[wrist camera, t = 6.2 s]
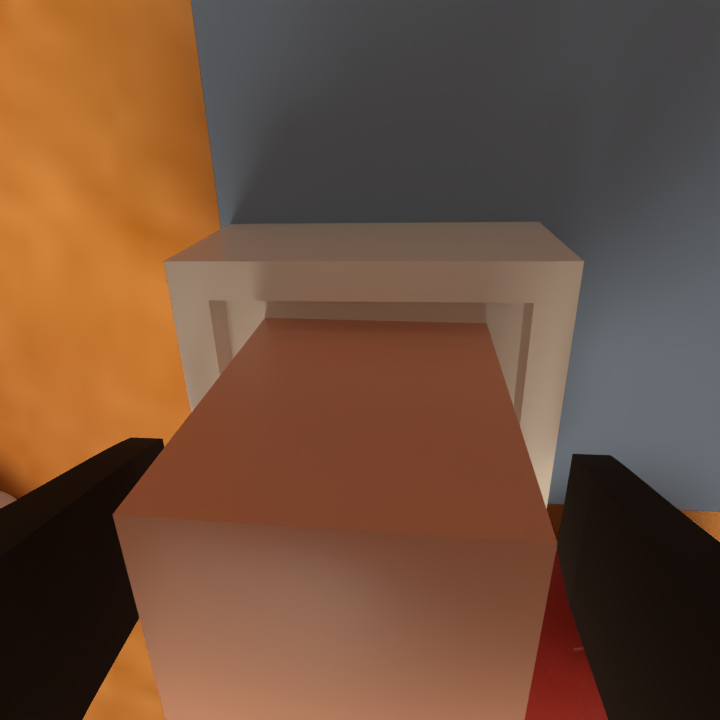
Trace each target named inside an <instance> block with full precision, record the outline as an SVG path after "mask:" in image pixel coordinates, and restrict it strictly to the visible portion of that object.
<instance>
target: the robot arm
mask: <svg viewBox="0 0 720 720" xmlns="http://www.w3.org/2000/svg"><path fill="white" fill-rule="evenodd" d="M163 449H164V444H163V439H154V438H129V439H127V440H125V441H122V442H120V443H118V444H116V445H114V446H112V447H110V448H108V449H106V450H105V451H103V452H101V453H99V454H97V455H95V456H93V457H92V458H90V459H88V460H86V461H85V462H83V463H81V464H79V465H77V466H76V467H74V468H72V469H70V470H69V471H67V472H65V473H63V474H62V475H60V476H58V477H56V478H54V479H53V480H51V481H49V482H47V483H46V484H44V485H42V486H40V487H39V488H37V489H35V490H33V491H31V492H30V493H28V494H26V495H24V496H23V497H21V498H19V499H17V500H15V501H14V502H12V503H10V504H8V505H6V506H4V507H2V508H0V720H82V719H83V718H84V716H85V714H86V712H87V710H88V708H89V706H90V704H91V702H92V700H93V699H94V697H95V695H96V693H97V692H98V690H99V688H100V686H101V684H102V683H103V681H104V679H105V677H106V676H107V674H108V672H109V670H110V668H111V667H112V665H113V663H114V661H115V660H116V658H117V656H118V654H119V653H120V651H121V649H122V647H123V645H124V644H125V642H126V640H127V638H128V637H129V635H130V633H131V631H132V630H133V628H134V626H135V624H136V622H137V621H138V619H139V615H138V611H137V607H136V603H135V599H134V595H133V592H132V588H131V584H130V580H129V576H128V572H127V569H126V565H125V561H124V557H123V553H122V549H121V545H120V542H119V538H118V534H117V530H116V526H115V522H114V519H113V513H114V512H115V511H116V509H117V508H118V507H119V506H120V504H121V503H122V502H123V500H124V499H125V498H126V497H127V495H128V494H129V493H130V491H131V490H132V489H133V488H134V486H135V485H136V484H137V482H138V481H139V480H140V478H141V477H142V476H143V475H144V473H145V472H146V471H147V469H148V468H149V467H150V466H151V464H152V463H153V462H154V460H155V459H156V458H157V456H158V455H159V454H160V453H161V451H162V450H163ZM557 551H558V556H559V561H560V566H561V571H562V576H563V580H564V585H565V589H566V594H567V598H568V603H569V606H570V609H571V613H572V616H573V619H574V622H575V625H576V628H577V630H578V633H579V636H580V639H581V642H582V645H583V648H584V651H585V654H586V657H587V660H588V663H589V666H590V669H591V671H592V674H593V677H594V680H595V683H596V686H597V689H598V692H599V694H600V697H601V700H602V703H603V706H604V709H605V712H606V715H607V718H608V720H720V542H719V541H717V540H716V539H715V538H713V537H712V536H711V535H710V534H708V533H707V532H706V531H704V530H703V529H702V528H701V527H699V526H698V525H697V524H696V523H694V522H693V521H692V520H691V519H689V518H688V517H687V516H686V515H684V514H683V513H682V512H681V511H679V510H678V509H677V508H676V507H675V506H673V505H672V504H671V503H670V502H668V501H667V500H666V499H665V498H664V497H662V496H661V495H660V494H659V493H657V492H656V491H655V490H654V489H653V488H651V487H650V486H649V485H648V484H647V483H645V482H644V481H643V480H642V479H640V478H639V477H638V476H637V475H636V474H634V473H633V472H632V471H631V470H629V469H628V468H627V467H626V466H624V465H623V464H622V463H621V462H619V461H618V460H617V459H615V458H614V457H613V456H611V455H593V454H572V460H571V466H570V472H569V478H568V484H567V490H566V496H565V502H564V508H563V514H562V520H561V526H560V532H559V538H558V544H557Z"/></svg>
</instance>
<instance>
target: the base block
mask: <svg viewBox="0 0 720 720" xmlns="http://www.w3.org/2000/svg"><path fill="white" fill-rule="evenodd" d="M164 266H165V271H166V277H167V282H168V288H169V293H170V299H171V304H172V310H173V315H174V321H175V327H176V332H177V338H178V343H179V349H180V354H181V360H182V365H183V371H184V376H185V382H186V387H187V393H188V398H189V404H190V409H191V413H192V411H193V410H194V409H195V407H196V406H197V405H198V404H199V402H200V401H201V400H202V398H203V397H204V396H205V394H206V393H207V392H208V391H209V389H210V388H211V387H212V385H213V384H214V383H215V382H216V380H217V379H218V378H219V376H220V375H221V374H222V372H223V371H224V370H225V369H226V367H227V366H228V365H229V363H230V362H231V361H232V360H233V358H234V357H235V356H236V354H237V353H238V352H239V351H240V349H241V348H242V347H243V345H244V344H245V343H246V341H247V340H248V339H249V338H250V336H251V335H252V334H253V332H254V331H255V330H256V329H257V327H258V326H259V325H260V323H261V322H262V321H263V320H264V318H292V319H332V320H372V321H412V322H452V323H487V326H488V329H489V332H490V335H491V339H492V342H493V345H494V348H495V351H496V354H497V357H498V360H499V363H500V366H501V370H502V373H503V376H504V379H505V382H506V385H507V388H508V391H509V394H510V397H511V401H512V404H513V407H514V410H515V413H516V416H517V419H518V422H519V425H520V428H521V432H522V435H523V438H524V441H525V444H526V447H527V450H528V453H529V456H530V459H531V463H532V466H533V469H534V472H535V475H536V478H537V481H538V484H539V487H540V490H541V494H542V497H543V500H544V503H545V506H546V509H547V504H548V497H549V490H550V484H551V477H552V471H553V464H554V457H555V451H556V444H557V438H558V431H559V424H560V418H561V411H562V405H563V398H564V391H565V385H566V378H567V371H568V365H569V358H570V352H571V345H572V338H573V332H574V325H575V319H576V312H577V305H578V299H579V292H580V286H581V279H582V272H583V266H584V261H583V260H582V259H581V258H580V257H579V256H577V255H576V254H575V253H574V252H573V251H572V250H571V249H569V248H568V247H567V246H566V245H565V244H564V243H563V242H561V241H560V240H559V239H558V238H557V237H556V236H555V235H554V234H552V233H551V232H550V231H549V230H548V229H547V228H546V227H544V226H543V225H542V224H541V223H540V222H433V223H299V224H229V225H228V226H226V227H224V228H222V229H220V230H219V231H217V232H215V233H213V234H212V235H210V236H208V237H206V238H204V239H203V240H201V241H199V242H197V243H196V244H194V245H192V246H190V247H188V248H187V249H185V250H183V251H181V252H180V253H178V254H176V255H174V256H172V257H171V258H169V259H167V260H165V261H164Z"/></svg>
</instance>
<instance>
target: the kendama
mask: <svg viewBox="0 0 720 720" xmlns="http://www.w3.org/2000/svg"><path fill="white" fill-rule="evenodd" d="M525 720H608V718H607V715H606V712H605V709H604V706H603V703H602V700H601V697H600V694H599V692H598V689H597V686H596V683H595V680H594V677H593V674H592V671H591V669H590V666H589V663H588V660H587V657H586V654H585V651H584V648H583V645H582V642H581V639H580V636H579V633H578V630H577V628H576V625H575V622H574V619H573V616H572V613H571V609H570V606H569V603H568V598H567V594H566V589H565V585H564V580H563V576H562V571H561V566H560V561H559V556H558V551H556V554H555V559H554V565H553V570H552V575H551V581H550V586H549V591H548V597H547V602H546V607H545V613H544V618H543V623H542V629H541V634H540V640H539V645H538V650H537V656H536V661H535V666H534V672H533V677H532V682H531V688H530V693H529V698H528V704H527V709H526V714H525Z"/></svg>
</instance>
